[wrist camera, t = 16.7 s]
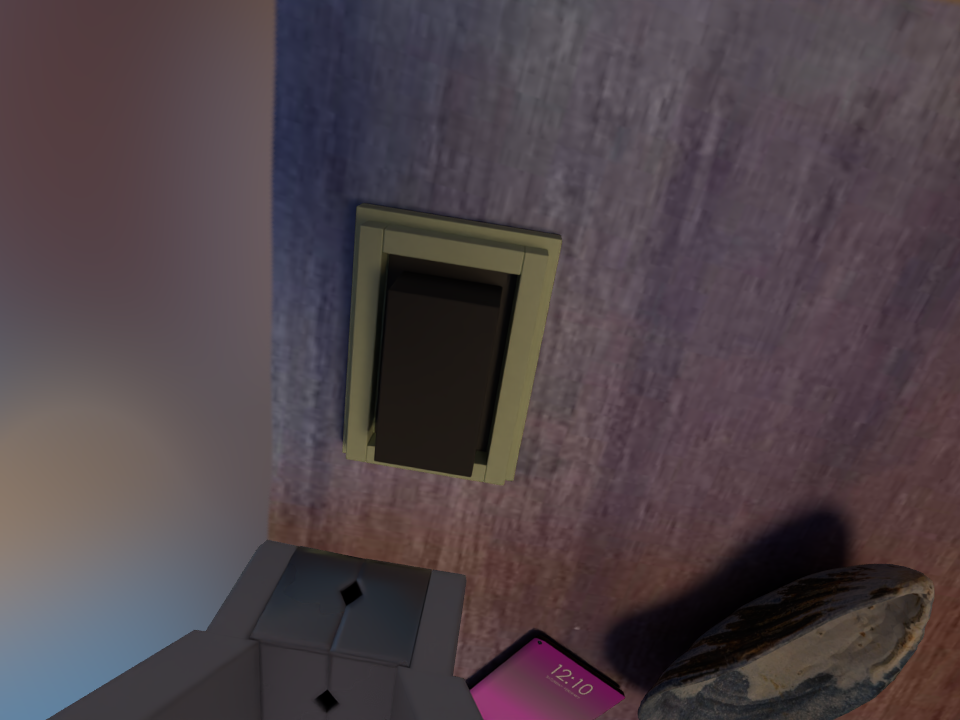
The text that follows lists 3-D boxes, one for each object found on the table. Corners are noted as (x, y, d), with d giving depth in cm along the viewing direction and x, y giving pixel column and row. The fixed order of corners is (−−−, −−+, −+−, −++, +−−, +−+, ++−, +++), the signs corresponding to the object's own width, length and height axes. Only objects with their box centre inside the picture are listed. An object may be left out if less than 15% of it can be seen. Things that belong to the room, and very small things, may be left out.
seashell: (660, 494, 30) (683, 563, 25) (909, 516, 29) (980, 591, 25) (618, 695, 36) (630, 780, 31) (823, 717, 35) (867, 807, 31)
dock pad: (362, 202, 25) (347, 210, 23) (561, 235, 25) (564, 245, 23) (347, 442, 30) (334, 466, 28) (513, 470, 30) (512, 496, 28)
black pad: (403, 269, 25) (387, 289, 22) (503, 286, 25) (499, 308, 22) (388, 427, 28) (373, 461, 25) (476, 442, 28) (471, 478, 25)
